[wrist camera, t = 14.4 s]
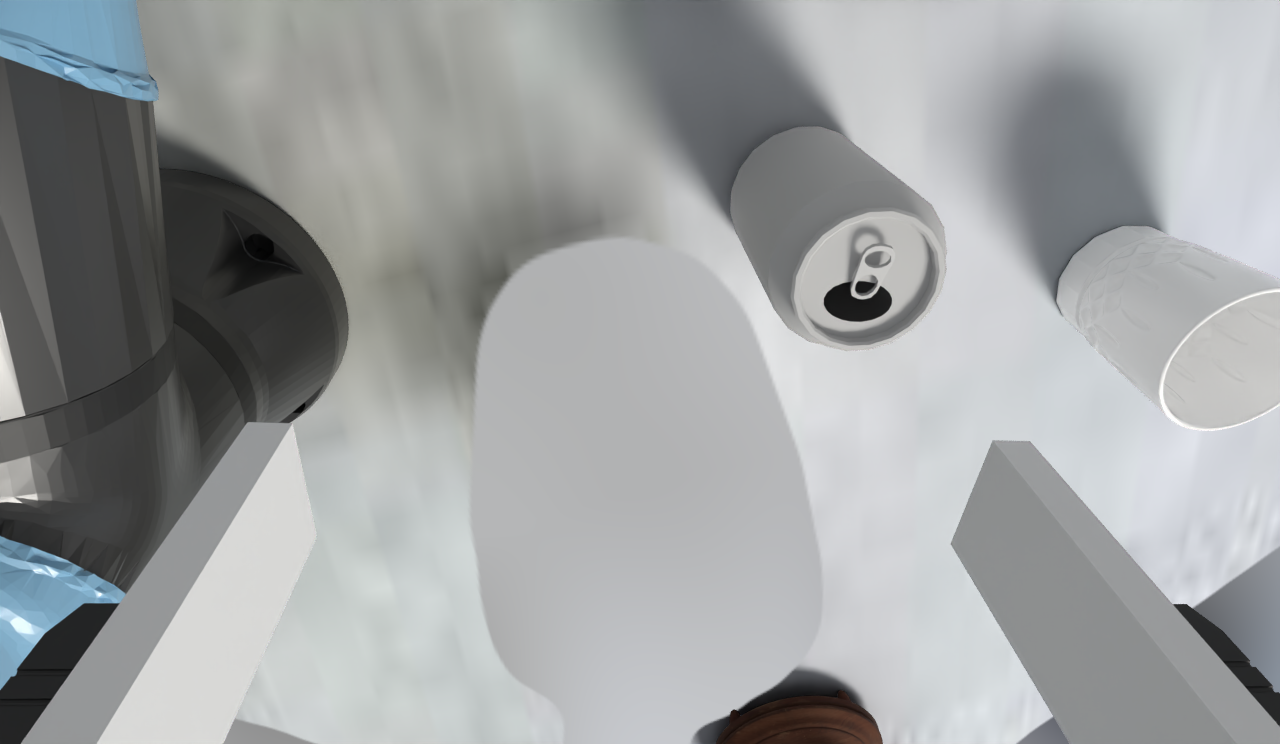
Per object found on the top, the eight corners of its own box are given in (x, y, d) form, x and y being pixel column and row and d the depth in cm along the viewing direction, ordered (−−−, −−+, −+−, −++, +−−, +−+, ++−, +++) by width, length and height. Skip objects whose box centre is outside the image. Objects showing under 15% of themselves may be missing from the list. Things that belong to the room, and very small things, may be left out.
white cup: (1093, 199, 40) (1231, 271, 31) (1209, 231, 41) (1371, 307, 33) (1020, 322, 44) (1126, 416, 35) (1129, 347, 45) (1255, 443, 36)
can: (714, 251, 40) (758, 359, 30) (743, 112, 36) (804, 181, 26) (842, 265, 41) (926, 374, 31) (883, 131, 37) (995, 205, 27)
